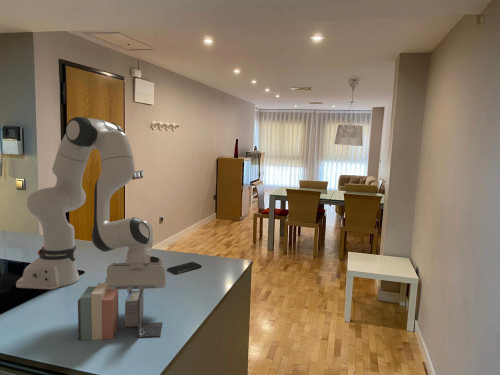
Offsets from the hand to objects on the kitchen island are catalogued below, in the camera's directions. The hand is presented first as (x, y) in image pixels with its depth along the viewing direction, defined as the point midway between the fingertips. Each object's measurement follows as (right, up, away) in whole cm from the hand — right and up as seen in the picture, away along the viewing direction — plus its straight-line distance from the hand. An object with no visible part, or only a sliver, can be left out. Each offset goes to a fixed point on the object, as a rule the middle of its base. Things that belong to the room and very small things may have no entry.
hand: (134, 300), depth 120 cm
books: (-7, -6, -11) cm, 14 cm away
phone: (+8, 0, +47) cm, 47 cm away
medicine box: (+1, -6, -4) cm, 7 cm away
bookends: (0, -6, -10) cm, 12 cm away
